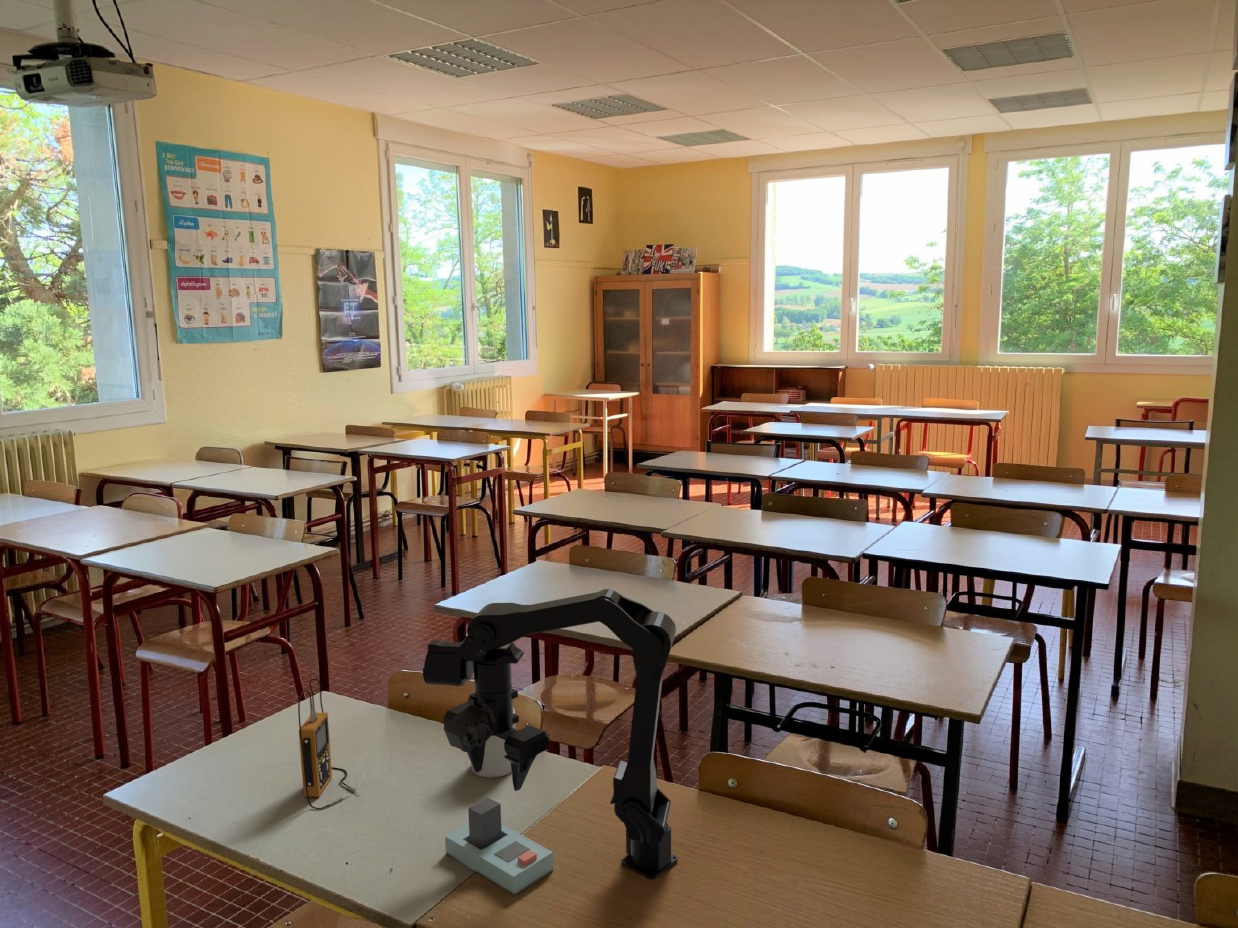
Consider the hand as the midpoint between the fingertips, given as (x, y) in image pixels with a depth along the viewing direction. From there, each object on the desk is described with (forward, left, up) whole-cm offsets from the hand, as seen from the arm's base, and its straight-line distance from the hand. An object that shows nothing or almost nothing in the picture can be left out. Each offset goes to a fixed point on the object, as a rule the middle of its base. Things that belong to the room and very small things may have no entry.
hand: (497, 780), depth 143 cm
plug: (+1, +2, -11) cm, 12 cm away
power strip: (-2, +2, -12) cm, 12 cm away
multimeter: (+37, +6, -12) cm, 39 cm away
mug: (+22, -19, -12) cm, 31 cm away
